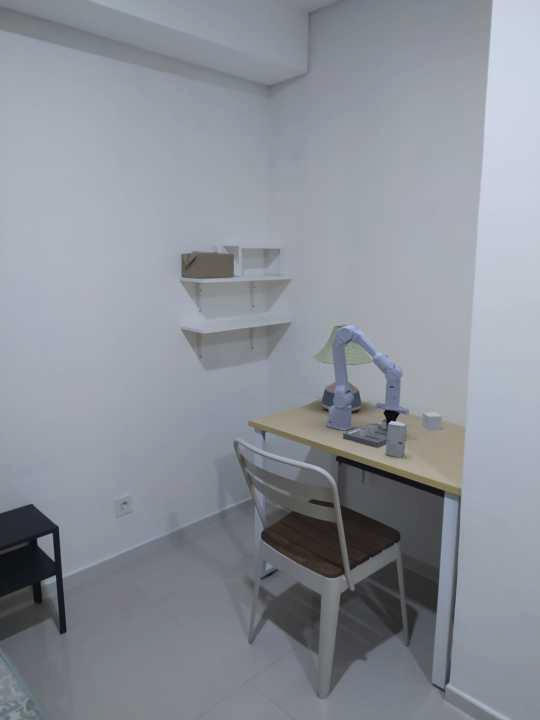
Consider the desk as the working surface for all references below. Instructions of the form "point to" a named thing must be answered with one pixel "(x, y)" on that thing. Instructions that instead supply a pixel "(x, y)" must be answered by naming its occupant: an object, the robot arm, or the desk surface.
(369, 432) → the panel
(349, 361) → the desk lamp
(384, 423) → the block
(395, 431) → the skincare box
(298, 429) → the desk surface
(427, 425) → the grey cube
